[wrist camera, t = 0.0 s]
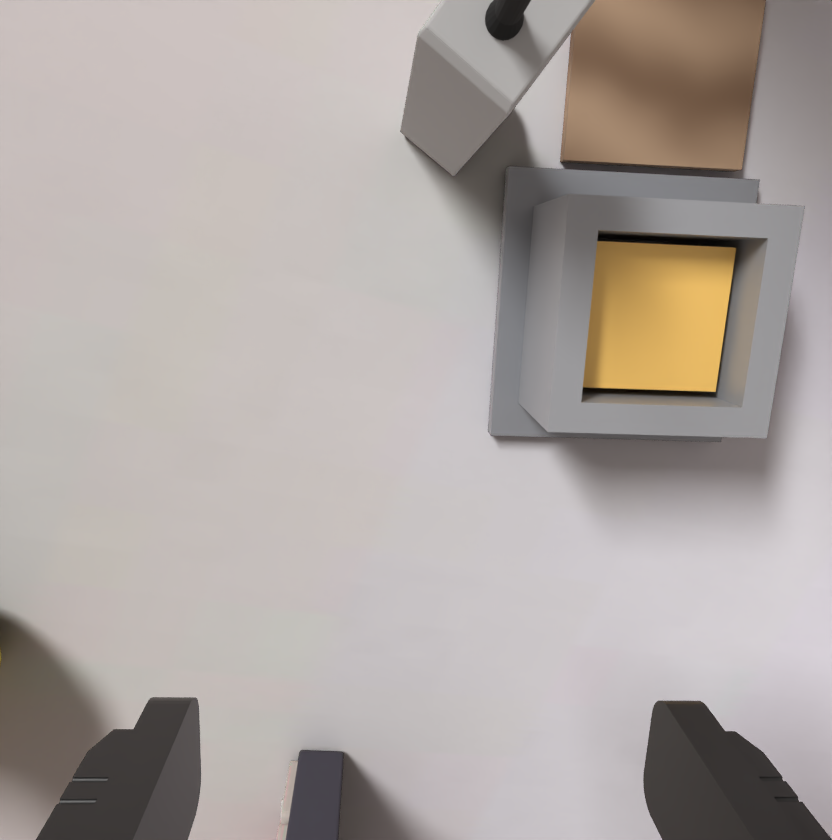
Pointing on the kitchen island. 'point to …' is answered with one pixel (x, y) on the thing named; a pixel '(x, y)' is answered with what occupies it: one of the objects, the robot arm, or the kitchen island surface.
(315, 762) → the calculator
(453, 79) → the vintage mobile phone
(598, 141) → the walnut pad
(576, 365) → the box
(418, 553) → the kitchen island surface
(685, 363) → the amber button
